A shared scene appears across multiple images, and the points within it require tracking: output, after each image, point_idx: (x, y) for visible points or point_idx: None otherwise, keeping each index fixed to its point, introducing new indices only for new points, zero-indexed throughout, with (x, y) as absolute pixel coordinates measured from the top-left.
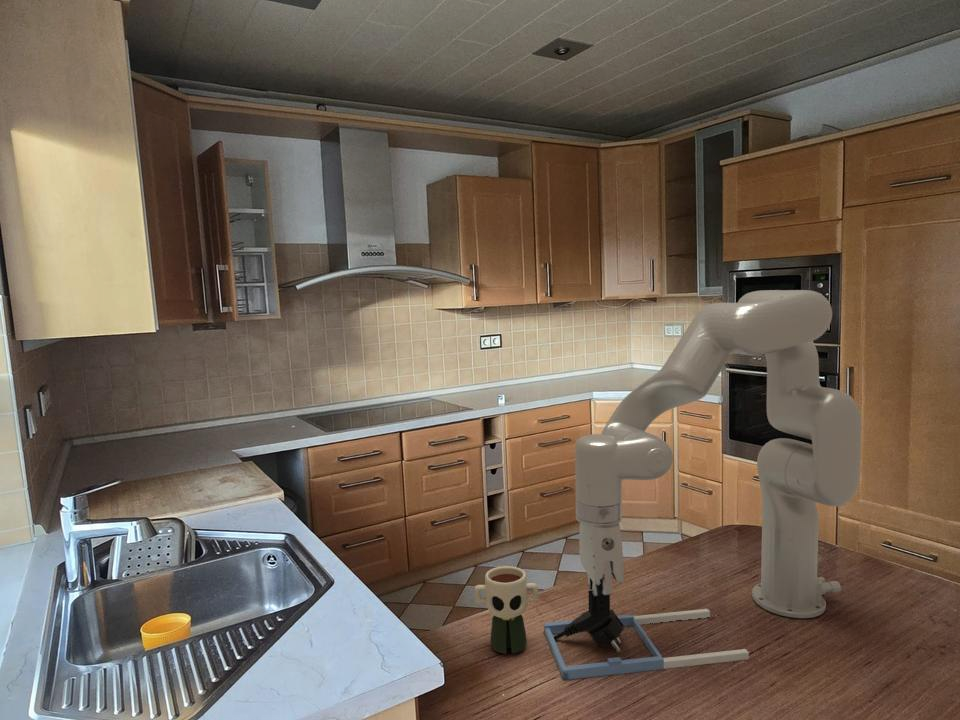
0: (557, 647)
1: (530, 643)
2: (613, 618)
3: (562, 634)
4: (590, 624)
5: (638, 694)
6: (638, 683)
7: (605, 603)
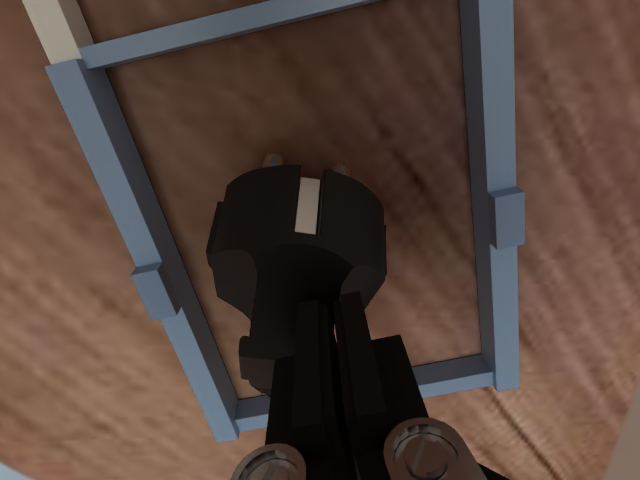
0: None
1: None
2: (343, 251)
3: None
4: None
5: (634, 124)
6: (568, 113)
7: (415, 387)
